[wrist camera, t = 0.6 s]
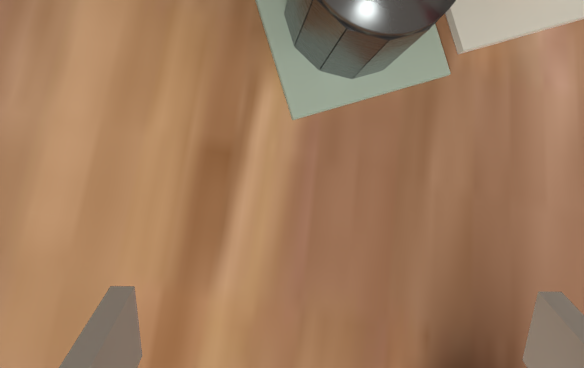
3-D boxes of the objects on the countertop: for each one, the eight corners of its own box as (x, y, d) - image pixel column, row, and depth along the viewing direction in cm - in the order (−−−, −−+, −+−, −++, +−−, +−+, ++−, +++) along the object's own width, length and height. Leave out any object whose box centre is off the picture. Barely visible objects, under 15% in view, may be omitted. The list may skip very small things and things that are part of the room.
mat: (241, -44, 39) (242, -48, 38) (398, -81, 41) (401, -85, 40) (292, 120, 39) (293, 118, 38) (447, 75, 41) (450, 73, 40)
